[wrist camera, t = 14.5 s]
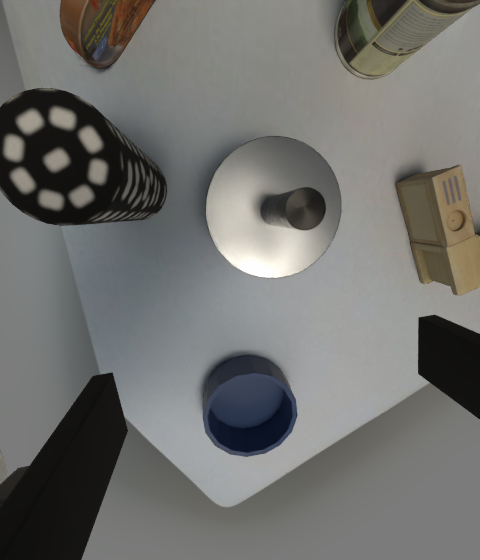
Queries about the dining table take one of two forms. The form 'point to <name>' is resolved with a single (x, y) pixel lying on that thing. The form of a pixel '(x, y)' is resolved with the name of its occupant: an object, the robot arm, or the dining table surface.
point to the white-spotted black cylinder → (73, 163)
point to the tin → (101, 27)
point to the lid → (273, 207)
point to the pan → (248, 406)
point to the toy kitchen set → (441, 228)
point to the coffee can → (390, 31)
